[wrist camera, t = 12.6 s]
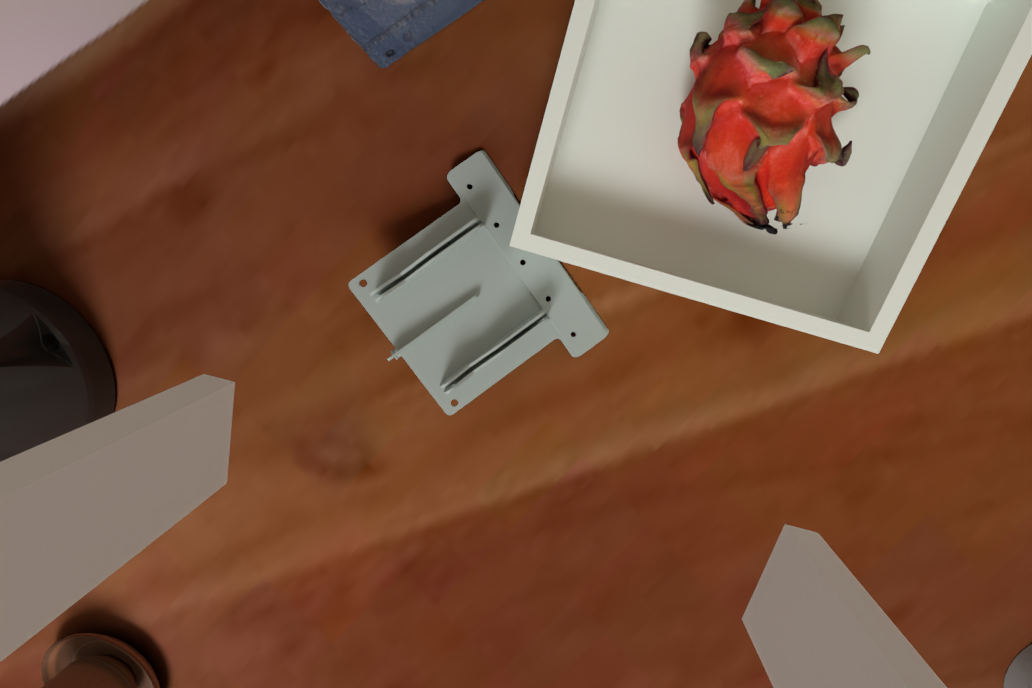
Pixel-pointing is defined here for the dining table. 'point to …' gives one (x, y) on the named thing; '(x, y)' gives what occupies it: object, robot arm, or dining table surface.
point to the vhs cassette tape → (394, 23)
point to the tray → (828, 187)
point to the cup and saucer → (96, 664)
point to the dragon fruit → (766, 107)
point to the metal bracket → (473, 294)
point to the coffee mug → (1020, 670)
